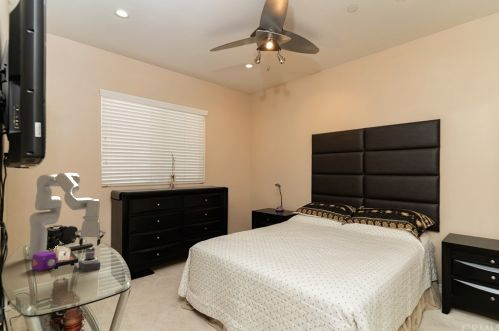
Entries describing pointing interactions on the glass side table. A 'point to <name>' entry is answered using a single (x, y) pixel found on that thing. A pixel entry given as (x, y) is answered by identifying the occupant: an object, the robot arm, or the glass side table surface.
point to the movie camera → (60, 235)
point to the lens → (89, 254)
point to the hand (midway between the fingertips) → (89, 245)
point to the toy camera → (44, 260)
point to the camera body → (89, 265)
